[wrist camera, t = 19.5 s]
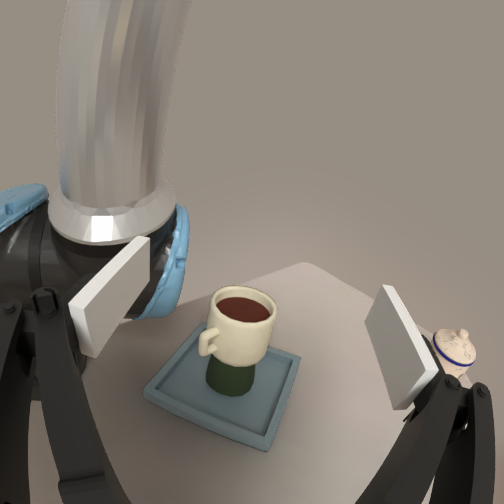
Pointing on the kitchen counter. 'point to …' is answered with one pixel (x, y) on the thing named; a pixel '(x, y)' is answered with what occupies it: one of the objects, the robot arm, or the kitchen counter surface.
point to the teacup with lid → (453, 351)
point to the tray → (221, 406)
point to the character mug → (236, 337)
